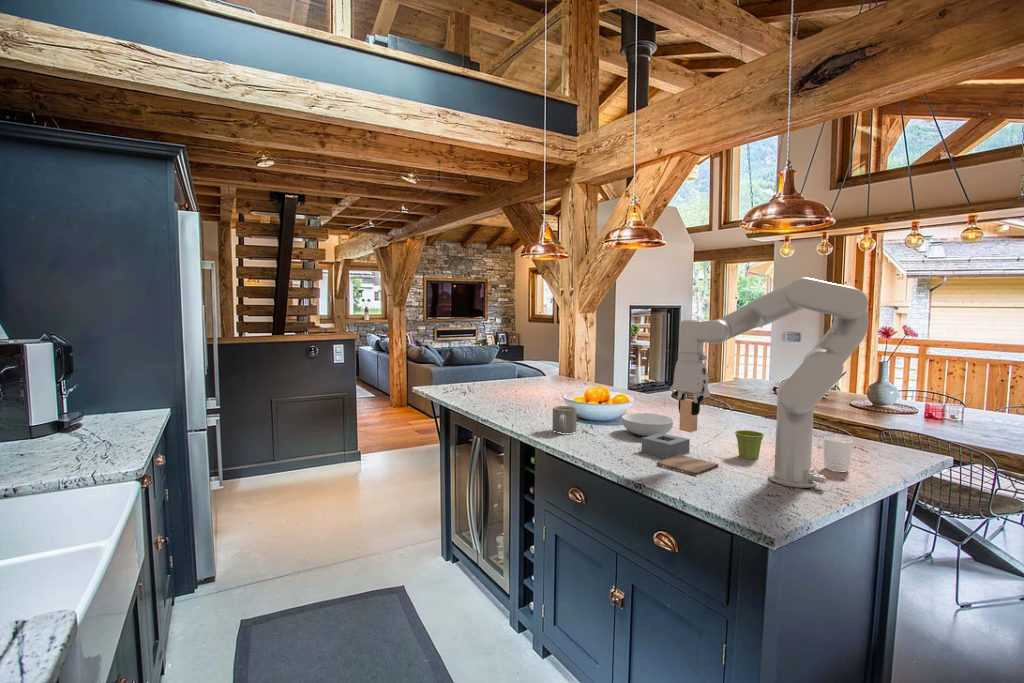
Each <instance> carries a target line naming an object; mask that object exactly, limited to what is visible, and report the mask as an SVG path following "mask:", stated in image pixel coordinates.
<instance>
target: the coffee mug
mask: <svg viewBox="0 0 1024 683" xmlns="http://www.w3.org/2000/svg"><path fill="white" fill-rule="evenodd" d="M552 430H553V431H556V432H561V433H573V432H576V433H577V407H574V406H569V405H557V406H554V407H552ZM553 431H552V432H553Z"/></svg>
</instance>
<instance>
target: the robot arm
mask: <svg viewBox="0 0 1024 683" xmlns="http://www.w3.org/2000/svg"><path fill="white" fill-rule="evenodd" d="M868 306H869V299H868V296H867V295H866V294H865V293H864V291H863V290H861V289H859V288H856V287H852V286H847V285H844V284H843V285H842V284H837V283H832V282H830V281H829V282H828V281H824V280H820V279H819V280H818V279H815V278H811V277H805V276H804V277H803V276H802V277H797V278H796V279H794V280H792V281H791V282H789V283H787V284H785V285H783V286H781V287H779V288H776V289H774V290H772V291H769V292H768V293H765V294H763V295H761V296H758V297H756V298H754V299H753V300H751V301H749V302H748V303H747V304H745V305H744V306H742V307H740V308H738V309H736V310H735V311H734V310H733V312H730V313H729V314H725V315H724V316H721V317H720V318H717V319H712V320H700V319H684V320H681V321H680V323H679V335H678V336H679V338H678V340H679V341H678V360H677V361H676V363H675V367H674V368H675V369H674V372H673V373H674V374H673V383H672V385H671V386H670V387H669V391H670V392H671V393H672V394H673V395H674V396H675V398H676V400H677V401H678V408H677V409H678V413H679V414H680V400H683V399H686V394H688V393H689V394H692V397H693V400H694V403H693V404H692V415H699V413H700V410H701V403H702V402H703V401H704V400H705V399H706V398H708V397H710V396H711V395H712V394H711V392H710V390H709V388H708V387H709V384H708V383H709V382H708V380H709V379H708V370H707V369H708V368H707V364H706V362H704V361H705V360H707V359H708V356H707V355H704V354H705V353H704V343H708V344H714V345H718V344H719V345H720V344H722V343H724V342H726V341H728V340H730V339H732V338H735V337H737V336H739V335H741V334H744V333H745V332H746V333H747V332H748V331H751V330H754V329H756V328H761V327H764V326H767V325H769V324H771V323H774V322H776V321H778V320H781V319H783V318H785V317H787V316H790V315H792V314H794V313H797V312H799V311H802V310H803V309H806V310H809V311H813V312H816V313H821V314H826V315H830V316H832V317H833V322H832V324H831V326H830V328H829V329H828V330H827V332H826V333H825V334H824V335H823V337H822V338H821V339H820V340H819V341H818V342H817V343H816V345H814V347H813V348H812V349H811V350H810V351H809V352H808V353H807V354H806V355H805V356H804V357H803V360H802V363H801V364H800V365H799V367H798V368H796V369H795V371H794V372H793V374H792V375H791V376H789V377H787V378H784V379H783V380H782V381H781V382H780V383H779V385H778V388H777V393H776V407H777V408H776V428H775V446H774V447H775V449H774V450H775V452H774V453H775V455H774V471H771V472H768V479H769V480H770V481H772V482H774V483H776V484H779V485H781V486H786V487H792V488H799V489H800V488H801V489H805V488H806V489H807V488H814V487H816V486H817V483H819V484H824V485H825V484H827V483H826V482H827V477H825V475H824V474H818V473H816V472H815V468H814V467H812V447H813V445H812V444H813V430H814V429H813V428H814V407H815V406H816V405H817V404H818V403H819V402H820V401H821V400H822V398H824V397H825V395H827V393H828V392H829V391H830V390H831V389H832V388H833V387H834V385H835V384H836V383H837V382H838V381H839V379H840V378H841V376H842V374H843V372H844V364H845V362H846V361H847V360H848V359H849V358H850V357H851V355H853V353H854V352H855V351H856V349H857V348H858V347H859V346H860V345H861V343H862V342H863V341H864V339H865V337H866V335H867V332H868V329H869V322H870V321H869V320H870V318H869V313H868Z"/></svg>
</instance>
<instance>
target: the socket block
mask: <svg viewBox="0 0 1024 683" xmlns="http://www.w3.org/2000/svg"><path fill="white" fill-rule="evenodd" d="M690 440H691V439H690V438H686V437H681V436H677V435H674V434H673V435H671V434H668V433H666V434H663V433H658V434H655V435H651V436H647V437H645V436H642V438H641V452H642V453H645V454H649V453H650V455H653V454H654V456H658V457H661V456H662V457H661V458H665V457H666V458H665V459H669V458H672V457H675V456H678V455H683V456H685V455H687V454H689V453H690Z"/></svg>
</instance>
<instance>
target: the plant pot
mask: <svg viewBox="0 0 1024 683" xmlns="http://www.w3.org/2000/svg"><path fill="white" fill-rule="evenodd" d="M734 434H735V437H736V439H737V440H736V441H737V449H738V457H740V458H741V459H745V460H749V459H751V460H752V459H755V460H758V459H759V457H760V451H761V445H762V441H763V438H764V437H765V433H762V432H760V431H755V430H747V429H743V430H740V429H739V430H736V431H734Z"/></svg>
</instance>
